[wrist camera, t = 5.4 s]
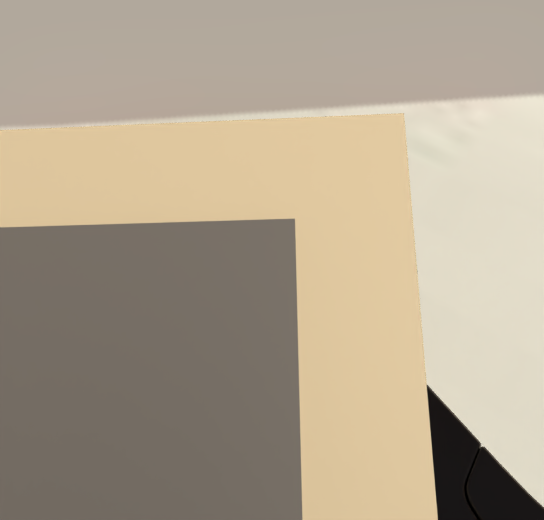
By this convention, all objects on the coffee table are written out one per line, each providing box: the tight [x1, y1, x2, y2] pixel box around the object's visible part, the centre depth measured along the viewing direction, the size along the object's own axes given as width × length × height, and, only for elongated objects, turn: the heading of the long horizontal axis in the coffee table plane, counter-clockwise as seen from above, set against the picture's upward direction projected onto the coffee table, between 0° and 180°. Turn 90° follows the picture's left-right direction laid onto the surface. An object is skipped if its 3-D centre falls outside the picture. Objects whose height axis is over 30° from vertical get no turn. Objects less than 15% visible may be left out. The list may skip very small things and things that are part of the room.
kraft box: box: [0, 113, 438, 520], centre depth 9 cm, size 5×5×13 cm
